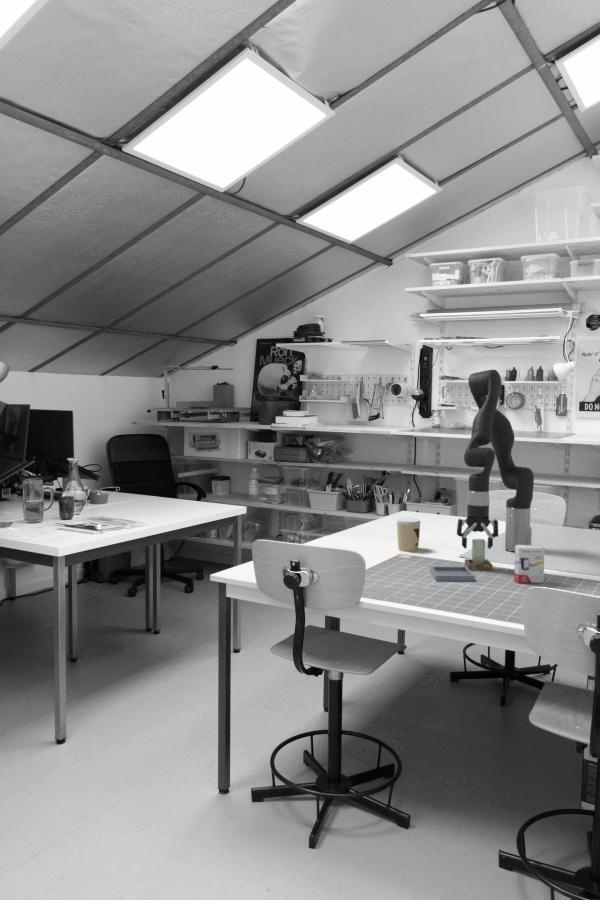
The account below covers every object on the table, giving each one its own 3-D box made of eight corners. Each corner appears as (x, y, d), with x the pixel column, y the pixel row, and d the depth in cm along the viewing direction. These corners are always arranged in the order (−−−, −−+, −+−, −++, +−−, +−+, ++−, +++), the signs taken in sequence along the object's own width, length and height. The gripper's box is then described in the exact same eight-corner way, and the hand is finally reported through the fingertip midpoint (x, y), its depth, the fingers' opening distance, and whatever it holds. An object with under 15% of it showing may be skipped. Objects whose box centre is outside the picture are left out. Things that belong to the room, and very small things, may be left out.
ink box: (517, 583, 233) (518, 548, 232) (513, 579, 238) (514, 544, 237) (544, 583, 233) (545, 548, 232) (539, 579, 238) (540, 544, 237)
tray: (466, 571, 248) (466, 566, 248) (474, 581, 235) (474, 576, 235) (430, 571, 248) (430, 566, 248) (435, 581, 236) (435, 575, 236)
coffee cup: (419, 552, 277) (420, 522, 276) (395, 551, 279) (395, 521, 278) (420, 547, 286) (420, 518, 285) (397, 546, 288) (397, 517, 287)
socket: (487, 564, 258) (487, 559, 258) (492, 570, 250) (492, 564, 249) (464, 564, 258) (464, 559, 258) (469, 570, 250) (469, 564, 250)
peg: (483, 565, 256) (483, 538, 255) (485, 569, 252) (486, 541, 251) (470, 565, 256) (471, 538, 255) (473, 568, 252) (473, 541, 251)
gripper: (496, 502, 255) (494, 546, 257) (456, 501, 256) (455, 545, 257) (500, 505, 248) (499, 550, 249) (459, 504, 249) (458, 550, 250)
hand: (477, 548), depth 253 cm, fingers open, 8 cm apart
